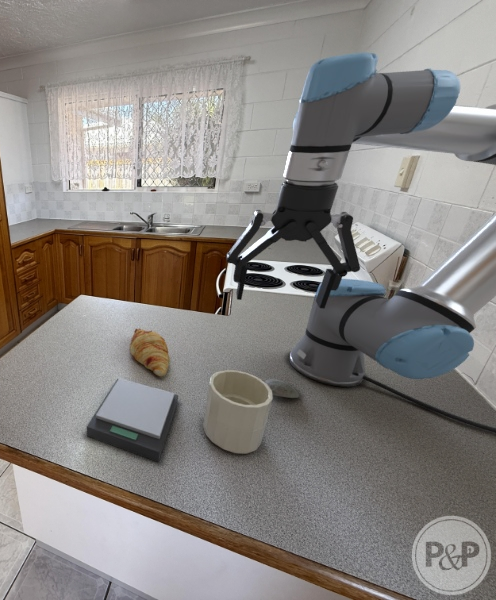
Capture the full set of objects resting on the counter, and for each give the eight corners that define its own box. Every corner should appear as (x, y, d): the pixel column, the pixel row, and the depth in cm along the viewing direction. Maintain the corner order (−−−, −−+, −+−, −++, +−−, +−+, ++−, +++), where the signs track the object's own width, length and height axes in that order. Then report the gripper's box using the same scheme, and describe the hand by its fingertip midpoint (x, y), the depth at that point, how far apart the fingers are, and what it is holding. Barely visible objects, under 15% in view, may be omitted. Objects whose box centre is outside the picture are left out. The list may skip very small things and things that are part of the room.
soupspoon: (305, 401, 68) (280, 384, 74) (309, 388, 67) (283, 372, 73) (221, 421, 62) (201, 401, 68) (223, 407, 61) (203, 388, 67)
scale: (177, 403, 67) (178, 391, 66) (158, 462, 54) (159, 448, 53) (117, 386, 73) (117, 375, 72) (86, 436, 60) (86, 423, 58)
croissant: (172, 390, 77) (190, 364, 74) (139, 379, 73) (156, 352, 71) (144, 344, 96) (157, 323, 93) (116, 334, 92) (129, 312, 90)
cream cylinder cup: (259, 423, 62) (271, 378, 58) (260, 464, 54) (274, 414, 49) (206, 408, 66) (213, 365, 62) (199, 444, 58) (206, 396, 53)
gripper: (224, 185, 49) (207, 302, 59) (425, 185, 41) (365, 319, 52) (223, 177, 55) (208, 285, 65) (398, 176, 47) (349, 298, 58)
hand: (277, 300), depth 59 cm, fingers open, 13 cm apart
